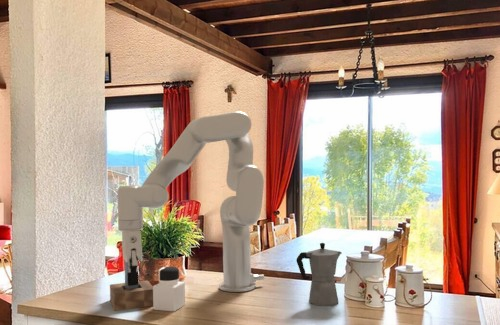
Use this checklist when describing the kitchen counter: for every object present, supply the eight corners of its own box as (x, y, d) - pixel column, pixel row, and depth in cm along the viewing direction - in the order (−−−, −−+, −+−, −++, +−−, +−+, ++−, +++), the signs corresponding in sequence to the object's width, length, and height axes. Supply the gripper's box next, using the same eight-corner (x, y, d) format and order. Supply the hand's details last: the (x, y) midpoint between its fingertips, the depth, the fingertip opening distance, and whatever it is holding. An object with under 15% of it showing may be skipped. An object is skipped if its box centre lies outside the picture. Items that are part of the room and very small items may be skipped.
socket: (147, 295, 157) (147, 280, 157) (155, 305, 146) (154, 289, 146) (110, 300, 153) (109, 284, 153) (114, 310, 142) (114, 293, 142)
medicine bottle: (185, 304, 146) (184, 265, 146) (174, 312, 139) (173, 270, 139) (164, 303, 148) (164, 264, 148) (152, 310, 142) (152, 269, 142)
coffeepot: (334, 295, 153) (333, 239, 153) (350, 303, 145) (349, 243, 145) (291, 300, 148) (289, 242, 148) (304, 309, 139) (303, 247, 139)
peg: (137, 294, 152) (136, 256, 152) (139, 297, 148) (138, 258, 148) (124, 295, 151) (123, 257, 151) (126, 299, 147) (125, 260, 147)
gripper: (147, 227, 143) (148, 288, 143) (138, 221, 159) (139, 276, 159) (121, 229, 140) (123, 291, 140) (115, 222, 156) (116, 279, 156)
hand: (131, 282), depth 150 cm, fingers closed on peg, 3 cm apart
